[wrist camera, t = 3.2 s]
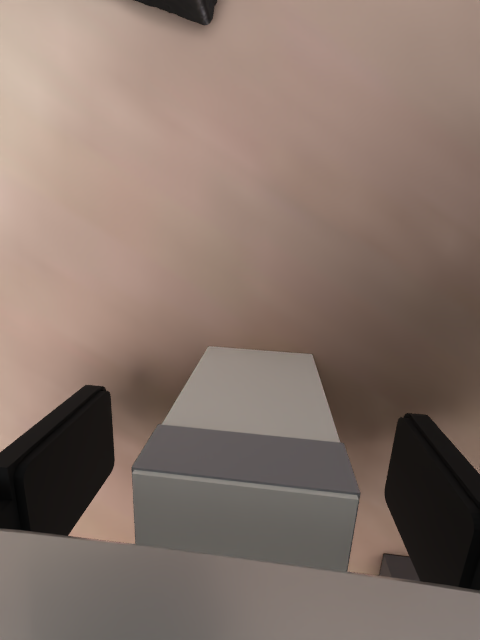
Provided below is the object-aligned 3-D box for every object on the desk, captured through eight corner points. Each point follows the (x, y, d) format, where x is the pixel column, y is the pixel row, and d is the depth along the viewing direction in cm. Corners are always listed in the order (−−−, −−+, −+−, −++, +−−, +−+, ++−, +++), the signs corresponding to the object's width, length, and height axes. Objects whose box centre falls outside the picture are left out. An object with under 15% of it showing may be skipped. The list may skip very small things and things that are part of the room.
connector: (313, 352, 12) (361, 497, 5) (303, 446, 13) (333, 664, 7) (207, 344, 13) (128, 470, 6) (205, 436, 14) (138, 632, 7)
